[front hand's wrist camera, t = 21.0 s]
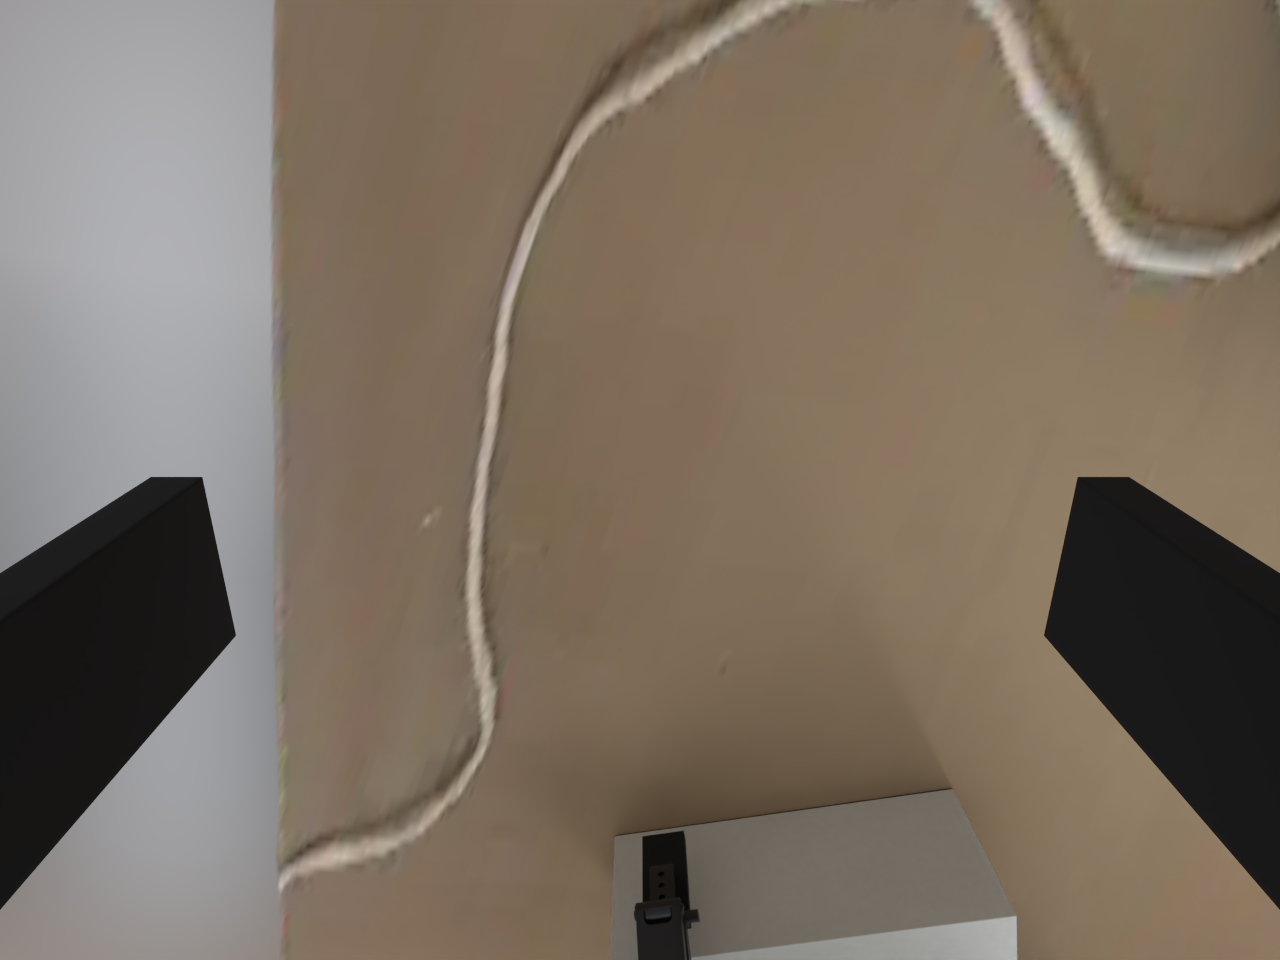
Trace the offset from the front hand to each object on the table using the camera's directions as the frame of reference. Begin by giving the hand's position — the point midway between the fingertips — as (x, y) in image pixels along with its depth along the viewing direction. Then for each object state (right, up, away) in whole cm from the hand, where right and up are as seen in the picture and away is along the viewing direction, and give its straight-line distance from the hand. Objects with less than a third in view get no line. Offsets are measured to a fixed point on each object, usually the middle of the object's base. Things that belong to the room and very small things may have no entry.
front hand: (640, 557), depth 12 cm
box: (+10, -25, +45) cm, 52 cm away
